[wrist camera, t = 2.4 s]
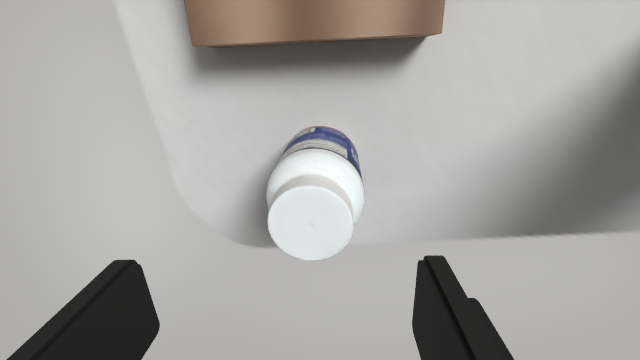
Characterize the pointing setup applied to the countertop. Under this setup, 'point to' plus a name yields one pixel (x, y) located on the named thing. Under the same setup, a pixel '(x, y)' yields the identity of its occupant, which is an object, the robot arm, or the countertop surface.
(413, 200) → the countertop surface
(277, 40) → the socket block
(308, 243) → the pill bottle
